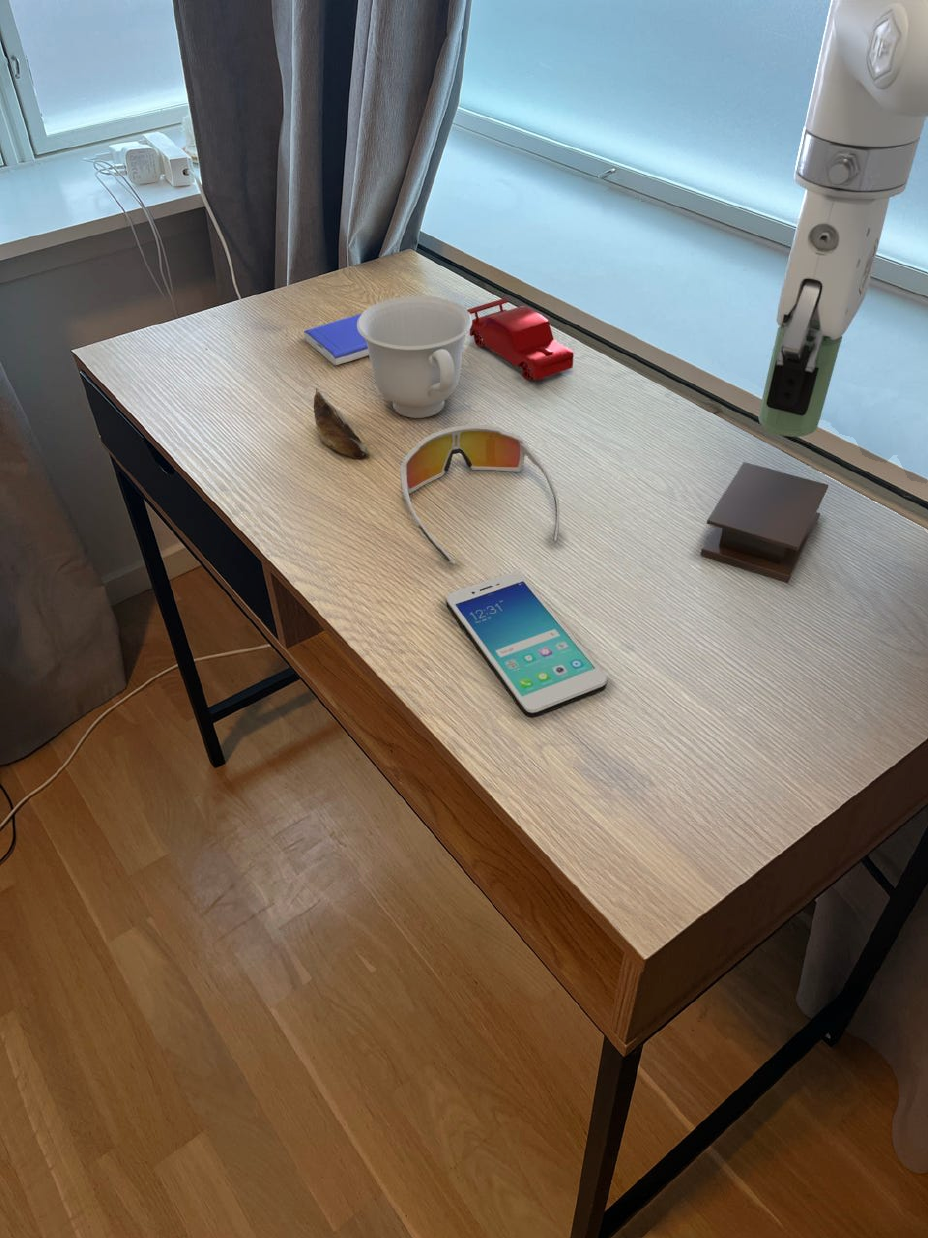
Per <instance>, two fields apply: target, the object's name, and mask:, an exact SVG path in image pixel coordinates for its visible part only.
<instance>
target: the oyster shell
mask: <svg viewBox="0 0 928 1238" xmlns="http://www.w3.org/2000/svg"><path fill="white" fill-rule="evenodd" d="M313 413H314V418H315V425H316V429H317V431H318V434H319V437H320V438H321V440H322V443H323V444H325V445H327V446H328V447H329V448H331V449H332V450H335V451H337V452H338V453H340V454H343V455H346V456H349V457H351V458H353V459H354V458H355V459H356V458H357V459H365V458H367V457H369V456H370V450H369V448H368V446H367V445H365V443H364V441H363V439H361V437H360V436H359V435H358V434H357V433H356V431H355V429H354V428H353V427H352V425H351V424H350V423H349V422H348V421H347V420H346V418H345V417H344V416H343V414H342V413H341V412H340V410H338V409H337V408H335V407H334V405H332V404H331V403H330V402H329V400H328V398H327V396H326V394H325V392H323V391H322V390H321V389H320V388H318V387H315V394H314V396H313Z"/></svg>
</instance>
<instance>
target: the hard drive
mask: <svg viewBox="0 0 928 1238" xmlns="http://www.w3.org/2000/svg"><path fill="white" fill-rule="evenodd" d="M362 313H363V312H362ZM362 313H359V314H358V313H357V314H355V315H351V316H349V317H345V318H341V319H339V320H336V321H332V322H328V323H325V324H322V325H319V326H316V327H313V328H309V329H305V330H303V334H304V340H305V341H306V342H307V343H308V344H309V345H310V346H311V347H312V348H314V349H315V350H316V351H317V352H318V353H319V354H320V355H322V356H323V357H324V358H325V359H326V360H327V361H329V362H330V363H331V364H332V365H333V366H339V365H342V364H346V363H349V362H352V361H354V360H358V359H362V358H365V357H368V356H369V351H368V347H367V343H366V340H365V338H364V337H363V336H362V335H361V334H360V333H359V331H358V329H357V321H358V319H359V317H360V316H361V315H362Z"/></svg>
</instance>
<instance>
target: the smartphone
mask: <svg viewBox="0 0 928 1238" xmlns="http://www.w3.org/2000/svg"><path fill="white" fill-rule="evenodd" d="M445 604H446V607H447V608H448V610H449V611H450V613H451V614H452V616H453V617H454V619H455V620H456V621H457V622H458V624H459V626H460V627H461V628H462V630H463V631H464V632H465V633H466V635H467V636H468V638H469V639H470V641H471V642H472V644H473V645H474V646H475V647H476V649H477V651H478V652H479V653H480V655H481V656H482V657H483V659H484V660H485V662H486V663H487V664H488V666H489V667H490V668H491V671H493V673H494V674H495V675H496V677H497V678H498V679H499V681H500V682H501V684H502V685H503V686H504V688H505V689H506V690H507V692H508V693H509V695H510V696H511V698H512V699H513V700H514V702H515V704H516V705H517V706H518V707H519V709H520V710H521V711H522V713H523V714H524V715H525V716H527V717H531V718H532V717H537V716H539V715H542V714H545V713H547V712H550V711H552V710H555V709H558V708H560V707H563V706H565V705H568V704H570V703H573V702H575V701H578V700H580V699H583V698H586V697H588V696H590V695H593V694H596V693H598V692H600V691H603V690H604V689H605V688H606V687H607V684H608V677H607V675H606V673H605V672H604V671H603V670H602V669H601V667H600V666H599V665H598V664H597V662H596V661H595V660H594V659H593V658H592V657H591V655H590V654H589V653H588V652H587V650H586V649H585V648H584V647H583V646H582V644H581V643H580V642H579V641H578V640H577V638H576V637H575V636H574V635H573V634H572V632H571V631H570V630H569V629H568V628H567V627H566V625H565V624H564V623H563V622H562V621H561V619H560V618H559V616H557V614H556V613H555V612H554V611H553V610H552V609H551V607H550V606H549V605H548V603H547V602H545V600H544V599H543V598H542V596H541V595H540V594H539V593H538V592H537V590H536V589H535V588H534V587H533V586H532V584H531V583H530V582H529V581H528V580H527V578H526V577H525V576H524V575H523V574H522V573H521V572H518V571H511V572H508V573H505V574H503V575H499V576H497V577H493V578H490V579H488V580H485V581H484V580H483V581H481V582H478V583H476V584H475V583H474V584H472V585H468V586H467V587H463V588H460V589H458V590H454V591H451V592H450V593H447V595H446V597H445Z"/></svg>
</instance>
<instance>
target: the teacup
mask: <svg viewBox="0 0 928 1238" xmlns="http://www.w3.org/2000/svg"><path fill="white" fill-rule="evenodd" d="M467 310H468V309H466V308H465V307H463V305H460V304H459V303H457V302H455V301H453V300H450V299H446V298H442V297H438V296H431V295H405V296H397V297H393V298H389V299H385V300H381V301H379V302H377V303H374V304H372V305H371V306H369V307H368V308H366V309H365V310H364V311H363V312H362V315H361V316H360V317H359V319H358V321H357V329H358V331H359V333H360V334H361V335H362V336H363V337H364V338H365V340H366V343H367V347H368V351H369V355H368V356H369V360H370V363H371V364H370V365H371V369H372V374H373V377H374V380H375V384H376V386H377V389H378V390H379V392H380V393H381V395H382V396H383V397H384V398H385V399H386V400H388V401H390V402H392V407H393V409H394V411H395V412H396V413H398V414H399V415H401V416H404V417H408V418H414V419H421V418H427V417H431V416H433V415H437V414H438V413H440V412H441V411H442V410H443V409H444V407H445V400H447V399H448V398H450V396H451V395H453V393H454V392H455V390H456V388H457V386H458V384H459V380H460V375H461V372H462V371H461V368H462V360H463V352H464V344H465V340H466V339H465V338H466V335H467V333H469V332H470V328H471V326H472V320H473V317H472V314H470V313H469V312H468V311H467Z"/></svg>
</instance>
